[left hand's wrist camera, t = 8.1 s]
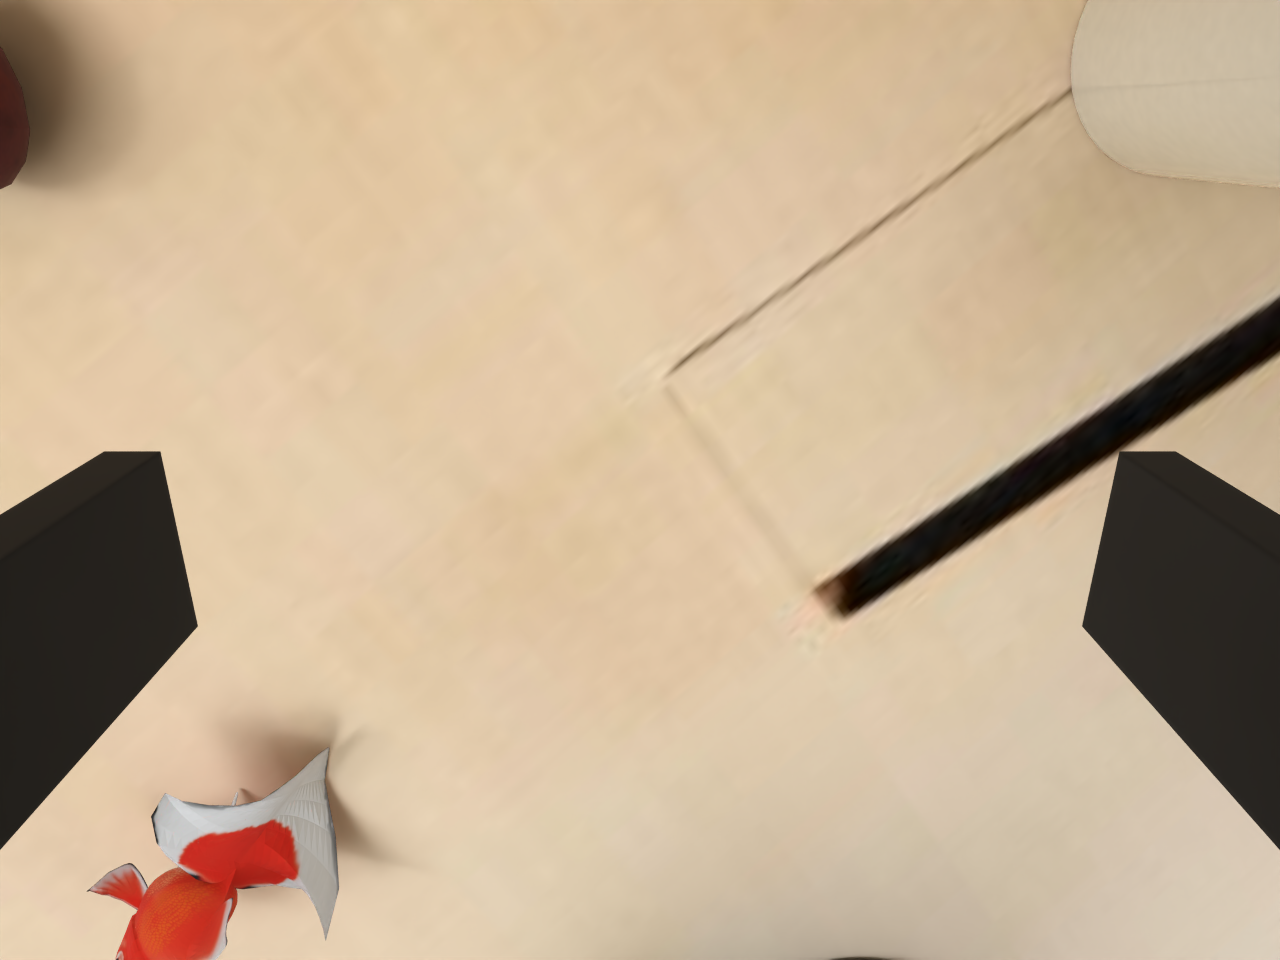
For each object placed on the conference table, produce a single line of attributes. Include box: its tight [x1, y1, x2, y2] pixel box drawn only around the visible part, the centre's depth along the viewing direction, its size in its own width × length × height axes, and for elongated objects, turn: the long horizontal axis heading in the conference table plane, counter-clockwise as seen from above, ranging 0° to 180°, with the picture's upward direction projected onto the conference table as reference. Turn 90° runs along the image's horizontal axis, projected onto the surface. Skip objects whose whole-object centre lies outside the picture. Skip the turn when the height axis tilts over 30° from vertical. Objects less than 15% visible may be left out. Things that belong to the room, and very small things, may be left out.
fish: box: [88, 747, 339, 960], centre depth 46 cm, size 11×16×10 cm
